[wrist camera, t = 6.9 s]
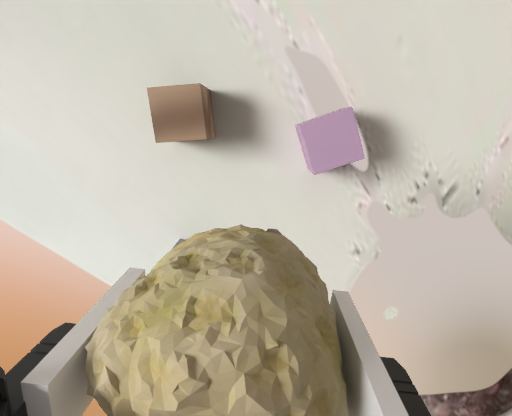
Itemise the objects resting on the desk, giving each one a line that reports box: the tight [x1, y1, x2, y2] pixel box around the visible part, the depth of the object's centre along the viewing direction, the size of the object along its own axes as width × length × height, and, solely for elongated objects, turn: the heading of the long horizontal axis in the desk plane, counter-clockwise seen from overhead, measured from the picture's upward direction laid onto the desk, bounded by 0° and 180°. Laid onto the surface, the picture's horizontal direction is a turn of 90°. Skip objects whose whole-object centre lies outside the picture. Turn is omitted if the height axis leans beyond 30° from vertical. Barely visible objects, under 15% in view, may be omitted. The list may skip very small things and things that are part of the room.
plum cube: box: [295, 107, 364, 175], centre depth 29 cm, size 5×5×5 cm
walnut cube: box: [147, 83, 215, 143], centre depth 29 cm, size 5×5×5 cm
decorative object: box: [85, 225, 349, 416], centre depth 12 cm, size 9×10×10 cm
